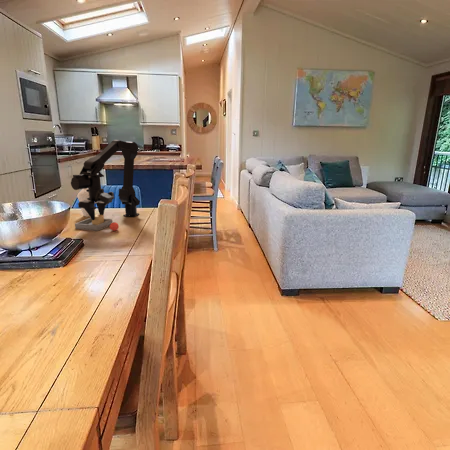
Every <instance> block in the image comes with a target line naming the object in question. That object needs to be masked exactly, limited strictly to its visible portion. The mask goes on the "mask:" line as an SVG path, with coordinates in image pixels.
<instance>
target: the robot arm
mask: <svg viewBox="0 0 450 450" xmlns="http://www.w3.org/2000/svg"><path fill="white" fill-rule="evenodd" d="M119 150H121V154H122V156H123V159H124V160H123V161H124V162H123V182H122V183H123V185H122V187H121V188H119V189H118V195H117V197H118V199H119V200H120V202H121V204H122V205H125V206H124V210H125V211H124V212H125V214H123V215H122V216H123V217H130V218H135V217H137V216H138V215H140V213H139V212H138V211H137V207H138V206H139V205H140V203H141V201H140V199H138V197H137V196H136V191H135V188H134V186H133V185H134V169H135V159H136V157H137V156H138V152H139V144H137V143H136V142H135V141H123V140H120V139H112V140H111V142H110V143H109V144H108V145H107V146H106V147H105V148H104V149H103V150H101V151H100V152H99V153H98V154H97V155H95V156H93V157H90V158H89V159H87V160H84V163H83V166H82V168H81V171H80V173H79V174H73V175H72V178H71V181H70V186H71V188H72V189H73V190H75V191H77V190H78V191H79V190H82V189H86V188H88V189H87V190H86V191H87V192H89V198H87V200H90V201H87V200H84V201H80V202H78V203H77V205H78V206H77V207H78V209H81V208H84V209H85V210H86V211H87V213H88V214H89V216H88V217H89V218H91V219H92V220H95V215H96V213H95V211H96V209H97V211H98V212H99V213H98V215H104V213H105V209H106V207H107V206H108V204H111V203H112V202H113V200H114V199H115V193H114V192H113V191H108V192H105V190H104V188H102V182H101V178H104V177H105V175H104V174H103V173H102V172H101V171H102V170H103V169H104V167H105V164H106V162H107V161H109V160H110V159H111V158H112V157H113V156H114V155H115V153H117V152H118V151H119ZM95 204H96V206H95Z"/></svg>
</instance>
